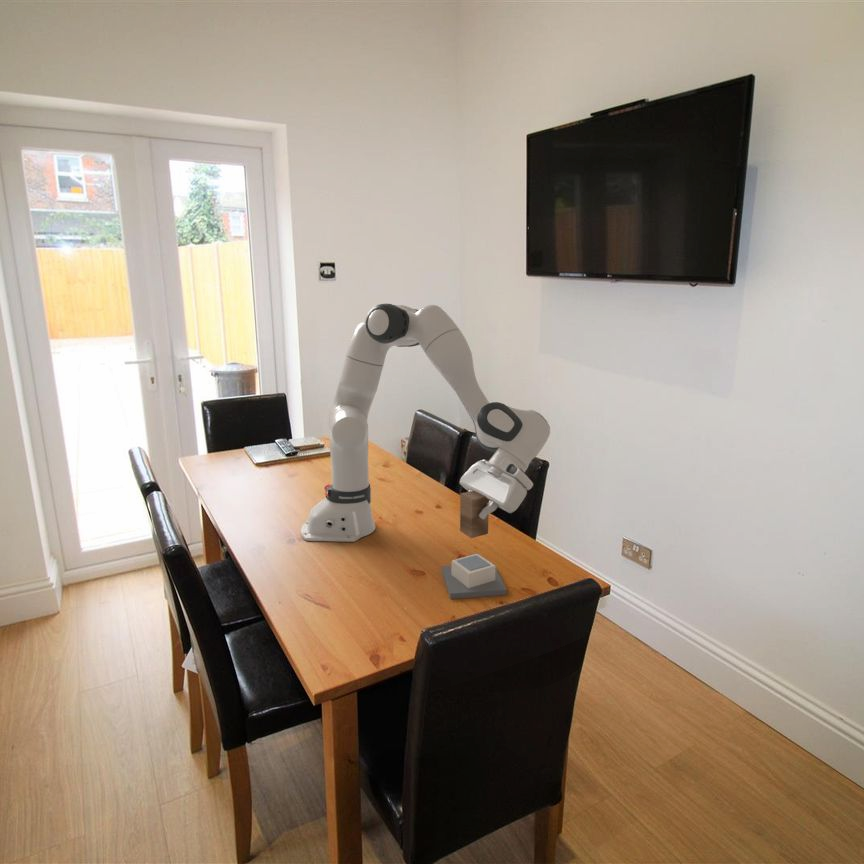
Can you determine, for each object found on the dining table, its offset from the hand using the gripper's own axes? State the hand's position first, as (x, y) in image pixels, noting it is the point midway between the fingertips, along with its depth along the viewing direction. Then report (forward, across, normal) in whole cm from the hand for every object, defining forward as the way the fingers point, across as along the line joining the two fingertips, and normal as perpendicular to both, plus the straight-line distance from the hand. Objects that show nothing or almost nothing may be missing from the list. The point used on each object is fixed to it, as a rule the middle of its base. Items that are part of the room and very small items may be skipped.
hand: (472, 512), depth 152 cm
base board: (+13, 0, +14) cm, 19 cm away
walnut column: (+3, 0, +4) cm, 5 cm away
